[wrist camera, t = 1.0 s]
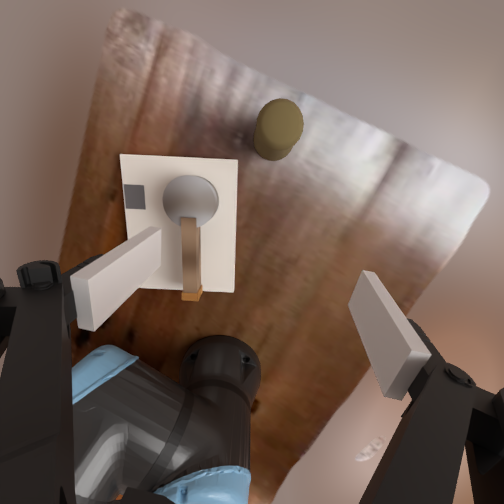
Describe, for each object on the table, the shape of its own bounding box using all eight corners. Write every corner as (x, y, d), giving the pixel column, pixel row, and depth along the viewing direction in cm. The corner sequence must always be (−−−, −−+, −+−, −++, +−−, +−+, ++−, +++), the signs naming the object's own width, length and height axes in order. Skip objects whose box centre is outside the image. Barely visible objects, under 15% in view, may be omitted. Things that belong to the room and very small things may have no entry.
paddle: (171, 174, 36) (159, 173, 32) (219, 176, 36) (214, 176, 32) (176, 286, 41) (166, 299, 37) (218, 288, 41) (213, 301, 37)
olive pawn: (245, 145, 37) (241, 132, 26) (267, 107, 35) (273, 76, 25) (279, 168, 37) (288, 164, 27) (302, 132, 36) (322, 112, 25)
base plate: (234, 288, 43) (233, 292, 42) (136, 283, 43) (132, 287, 42) (237, 160, 37) (237, 159, 36) (124, 155, 37) (119, 154, 36)
